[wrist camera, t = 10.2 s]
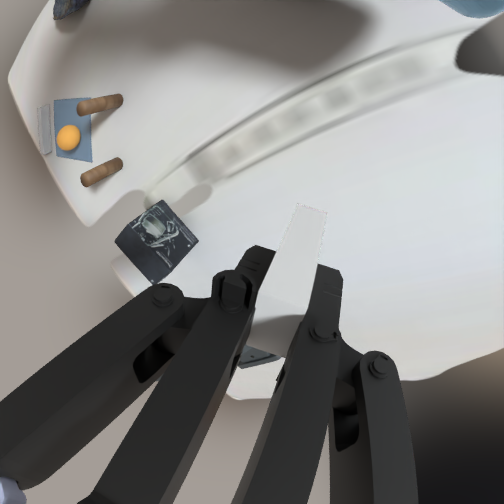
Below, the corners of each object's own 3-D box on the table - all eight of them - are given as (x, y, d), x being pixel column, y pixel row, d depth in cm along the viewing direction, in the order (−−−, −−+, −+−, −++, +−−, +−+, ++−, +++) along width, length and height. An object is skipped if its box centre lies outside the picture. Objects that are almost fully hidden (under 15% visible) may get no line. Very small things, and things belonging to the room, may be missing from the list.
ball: (55, 129, 39) (80, 123, 42) (56, 126, 43) (79, 121, 46) (57, 155, 42) (82, 149, 45) (58, 150, 46) (80, 145, 49)
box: (201, 240, 51) (171, 273, 43) (181, 255, 55) (153, 287, 46) (162, 197, 49) (127, 223, 40) (146, 216, 52) (112, 242, 44)
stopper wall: (45, 105, 45) (37, 107, 43) (49, 104, 44) (41, 107, 42) (48, 150, 52) (40, 154, 50) (51, 151, 51) (44, 154, 49)
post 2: (113, 156, 47) (79, 172, 40) (122, 158, 46) (88, 174, 39) (113, 168, 48) (81, 185, 41) (123, 170, 48) (90, 188, 41)
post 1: (113, 93, 39) (76, 101, 32) (123, 93, 39) (86, 101, 32) (113, 107, 41) (76, 116, 34) (122, 107, 41) (85, 116, 33)
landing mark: (54, 100, 43) (53, 100, 43) (90, 97, 41) (90, 97, 41) (57, 155, 51) (56, 156, 51) (92, 161, 49) (91, 162, 49)
